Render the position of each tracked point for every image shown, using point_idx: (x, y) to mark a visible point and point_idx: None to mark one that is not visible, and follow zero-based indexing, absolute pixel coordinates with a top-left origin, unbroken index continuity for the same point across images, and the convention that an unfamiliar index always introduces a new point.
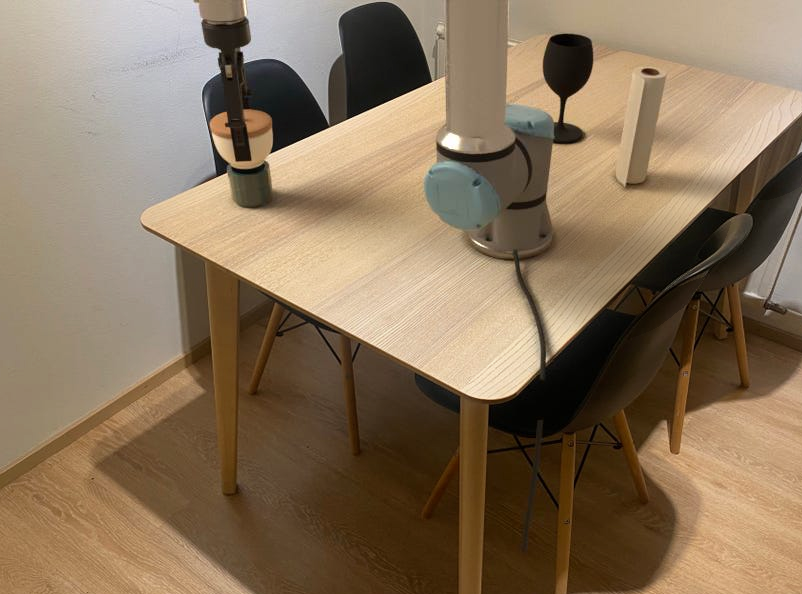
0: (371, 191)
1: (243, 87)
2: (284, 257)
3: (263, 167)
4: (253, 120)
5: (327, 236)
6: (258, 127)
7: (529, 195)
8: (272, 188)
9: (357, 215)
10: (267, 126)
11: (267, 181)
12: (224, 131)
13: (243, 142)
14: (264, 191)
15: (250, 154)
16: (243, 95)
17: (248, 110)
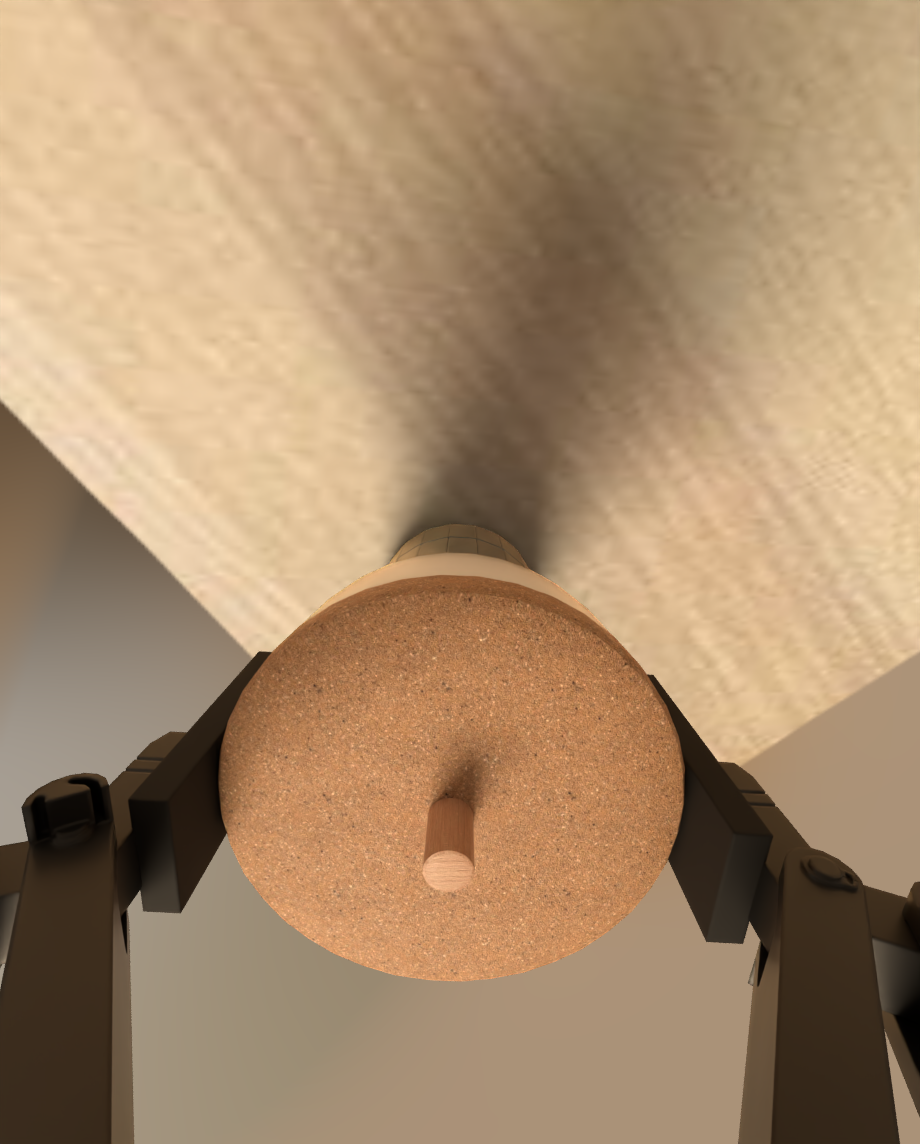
0: (491, 51)
1: (113, 941)
2: (907, 509)
3: None
4: (481, 731)
5: (826, 333)
6: (623, 699)
7: None
8: (458, 528)
9: (701, 168)
10: (589, 626)
11: (509, 557)
12: (622, 910)
13: (752, 783)
14: (525, 566)
15: (668, 695)
16: (120, 853)
17: (259, 757)
